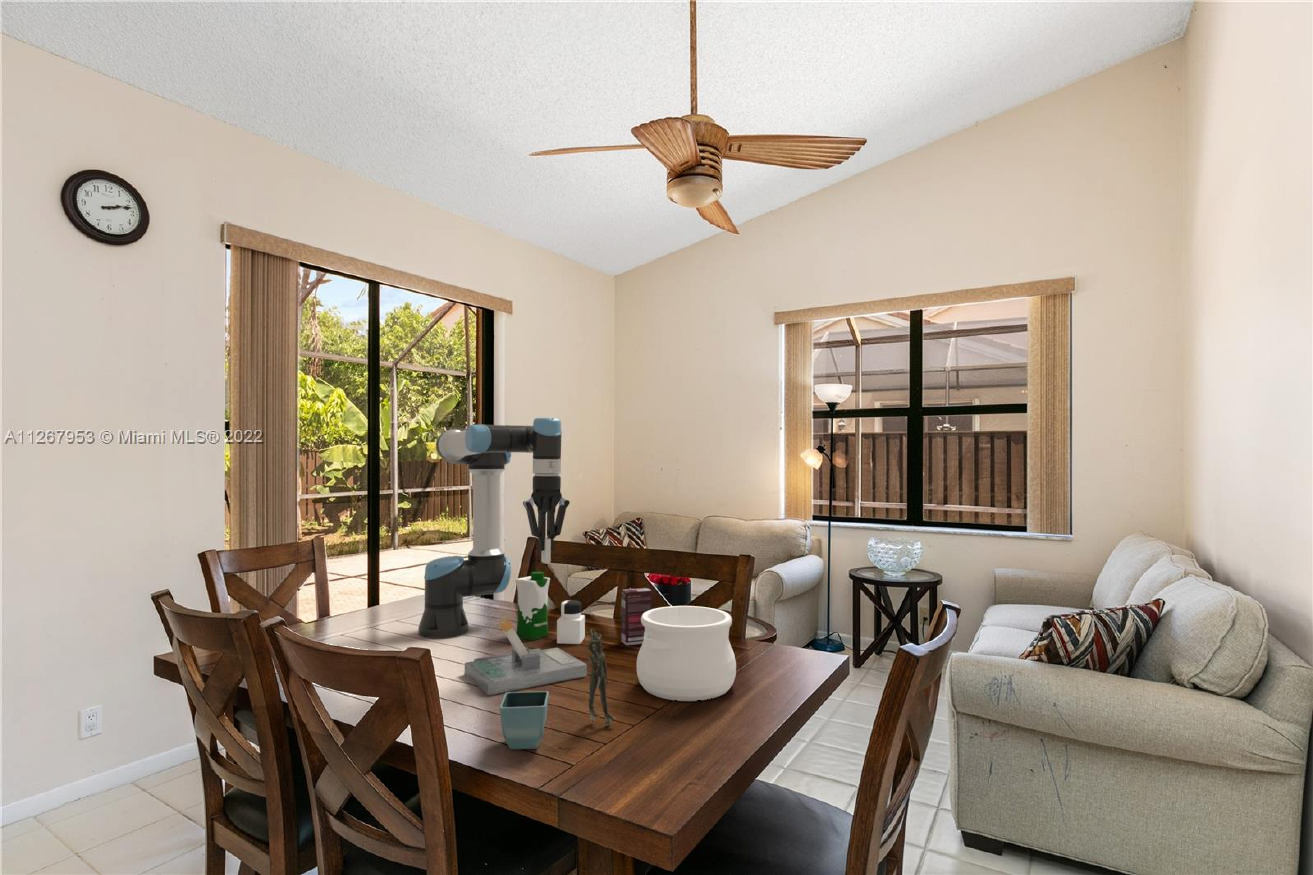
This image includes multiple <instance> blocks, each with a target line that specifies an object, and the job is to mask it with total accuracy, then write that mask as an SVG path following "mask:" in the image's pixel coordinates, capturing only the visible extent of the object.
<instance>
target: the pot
mask: <svg viewBox="0 0 1313 875" xmlns="http://www.w3.org/2000/svg"><path fill="white" fill-rule="evenodd" d="M732 622H733V618H732V616H731V615H730V614H729V613H728V612H726V611H724V610H722V609H717V608H713V607H712V608H711V607H705V606H697V605H696V606H695V605H675V606H674V605H671V606H662V607H661V606H660V607H657V608H656V607H655V608H652V610H649V611H646V612H645V613H643V615H642V617H641V623H642V625H643V626H644V627H645V632H644V641H643V643H642V644H641V646H640V648H639V651H638V652H637V658H636V663H635V664H636V674H637V678H638V680H639V683H640V685H641V686H642V688H643V689H644V690H645V691H646V692H647V693H649V695H653V696H654V697H657V698H661V699H664V700H669V701H675V700H677V702H698V701H697V700H701V701H707V699H708V700H711V698H712V699H715V698H718V697H720V696H723V695H724V694H726V693H727V692H729V690H730V688H731V687H732V686H733V684H734V682H735V679H736V676H737V675H736V674H737V661H736V657H735V656H736V655H735V653H734V650H733V648H732V645H731V642H730V639H729V630H728V629H730V627H731V626H732V624H733V623H732Z"/></svg>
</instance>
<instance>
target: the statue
mask: <svg viewBox="0 0 1313 875" xmlns="http://www.w3.org/2000/svg"><path fill="white" fill-rule="evenodd" d="M589 634H590V638H591V639H590V642H589V643H588V649H589V652H591V655H590V656H589V657H588V663H589V666H590V668H591V672H590V676H589V694H588V708H589V715H590V722H591V723H595V720H596V718H598V717H600V714H599V712H597V711H596V710H595V706H594V705H595V694H596V690H597V688H598V690H599V693H600V703H601V707H602V710H603V714H604V718H605V726H606V727H610V726H611V721H612V720H613V721H616V717H615V716H613V715H611V713H609V709H608V701H607V692H606V690H607V685H608V683H609V679H608V668H607V661H606V655H605V652H603V649H604V644H603V643H604V638H603V634H602V633H598V632H596V629H594V628H590V629H589Z"/></svg>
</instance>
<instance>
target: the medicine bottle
mask: <svg viewBox="0 0 1313 875" xmlns="http://www.w3.org/2000/svg"><path fill="white" fill-rule="evenodd" d="M560 604H561V605H560V606H561V607H560V612H561V613H560V615H561V616H560V617H559V618H557V620H556V644H561V645H562V644H565V645H569V644H570V645H580V644H582V642H583V641H584V639H585V638H586V635H585V634H586V632H585V631H586V630H585V629H586V628H585V627H586V625H585V624H586V615H585V614H582V603H581V602H580V601H579V600H575V599H570V600H564V601H562V602H561V603H560Z"/></svg>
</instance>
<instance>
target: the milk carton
mask: <svg viewBox="0 0 1313 875" xmlns="http://www.w3.org/2000/svg"><path fill="white" fill-rule="evenodd" d="M514 581H515V585H516V589H517V624H516V634H517V636H518V637H519V639H524V640H529V641H535V640H538V639H541V638H545V637H548V636H549V623H548V620H549V619H548V600H549V599H548V598H549V596H548V592H549V586H550V581H551V578H550V577H546V576H545V572H544V571H540V570H539V571H538V570H537V571H531V572H530V576H524V577H519V578H515V580H514Z"/></svg>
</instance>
